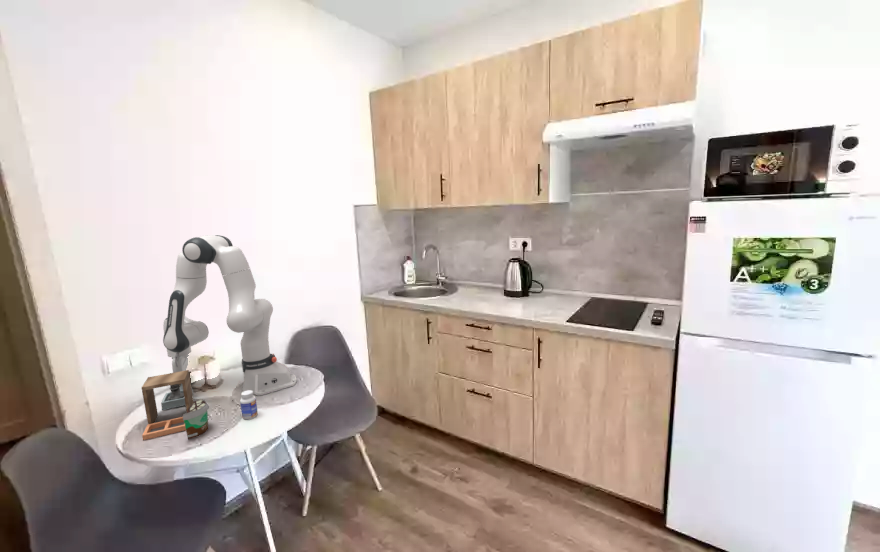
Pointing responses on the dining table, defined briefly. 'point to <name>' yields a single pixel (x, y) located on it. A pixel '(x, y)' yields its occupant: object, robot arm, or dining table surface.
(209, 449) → the dining table surface
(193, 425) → the food container
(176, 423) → the orange flat frame
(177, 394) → the dark grey upright piece
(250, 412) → the pill bottle
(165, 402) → the grey piece
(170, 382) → the tunnel
